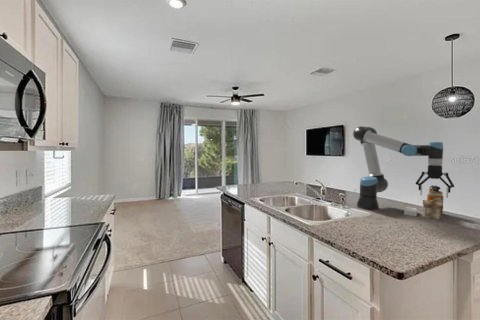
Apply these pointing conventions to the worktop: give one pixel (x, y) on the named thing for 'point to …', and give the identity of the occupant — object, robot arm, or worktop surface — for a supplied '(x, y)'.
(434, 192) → the canister
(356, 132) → the robot arm
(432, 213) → the box
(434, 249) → the worktop surface
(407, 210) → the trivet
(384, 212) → the worktop surface
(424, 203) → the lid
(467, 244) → the worktop surface
